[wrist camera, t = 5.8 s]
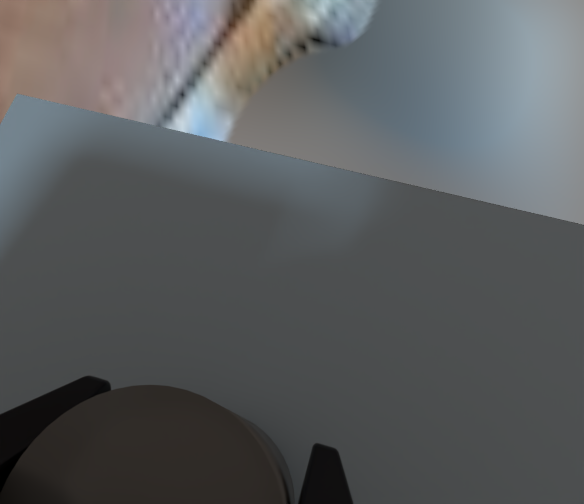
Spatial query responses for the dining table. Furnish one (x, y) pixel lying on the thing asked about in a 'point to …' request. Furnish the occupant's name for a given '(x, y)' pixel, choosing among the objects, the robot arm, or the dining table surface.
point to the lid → (277, 325)
